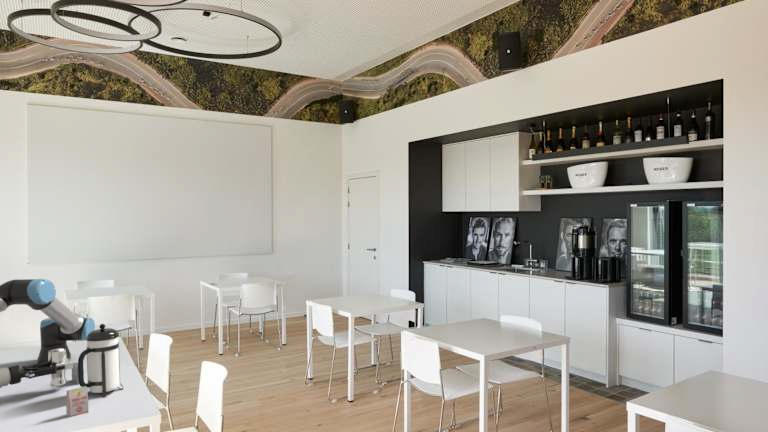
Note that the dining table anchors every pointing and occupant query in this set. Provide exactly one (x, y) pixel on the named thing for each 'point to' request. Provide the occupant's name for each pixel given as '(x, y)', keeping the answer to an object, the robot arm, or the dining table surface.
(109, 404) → the dining table surface
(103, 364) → the coffee press
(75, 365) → the block
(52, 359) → the beer glass
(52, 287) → the robot arm
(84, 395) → the printed carton
